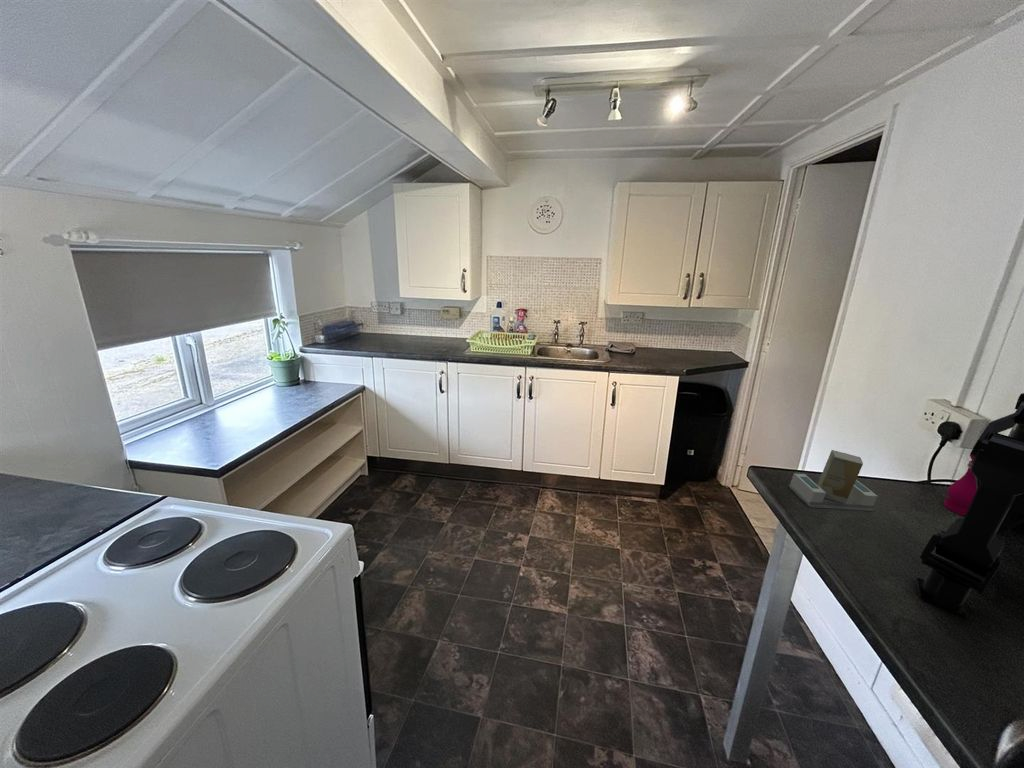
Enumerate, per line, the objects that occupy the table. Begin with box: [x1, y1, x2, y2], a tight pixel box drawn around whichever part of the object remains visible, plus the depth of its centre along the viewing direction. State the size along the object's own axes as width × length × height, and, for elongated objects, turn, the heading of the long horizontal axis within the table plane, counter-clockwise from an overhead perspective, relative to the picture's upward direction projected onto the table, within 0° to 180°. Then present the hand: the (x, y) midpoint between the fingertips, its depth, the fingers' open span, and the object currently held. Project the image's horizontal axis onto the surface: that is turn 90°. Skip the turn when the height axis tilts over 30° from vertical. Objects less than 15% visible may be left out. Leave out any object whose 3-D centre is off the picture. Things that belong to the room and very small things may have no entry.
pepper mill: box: [943, 452, 977, 517], centre depth 104 cm, size 7×7×20 cm
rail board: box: [788, 481, 875, 512], centre depth 109 cm, size 16×9×1 cm, turn 88°
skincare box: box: [816, 449, 864, 504], centre depth 107 cm, size 6×4×12 cm
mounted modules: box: [790, 472, 878, 507], centre depth 108 cm, size 16×8×4 cm, turn 88°
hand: (990, 518), depth 83 cm, fingers open, 9 cm apart
